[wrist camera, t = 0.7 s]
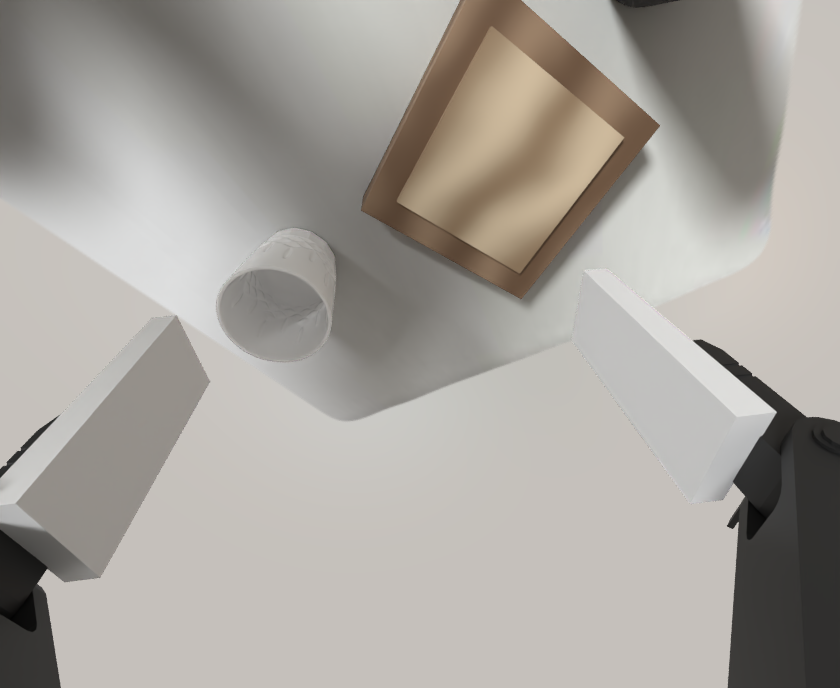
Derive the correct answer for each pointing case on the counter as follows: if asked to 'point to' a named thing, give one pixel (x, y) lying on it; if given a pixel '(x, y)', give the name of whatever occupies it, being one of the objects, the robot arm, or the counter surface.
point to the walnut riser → (504, 145)
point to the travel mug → (643, 2)
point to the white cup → (281, 298)
